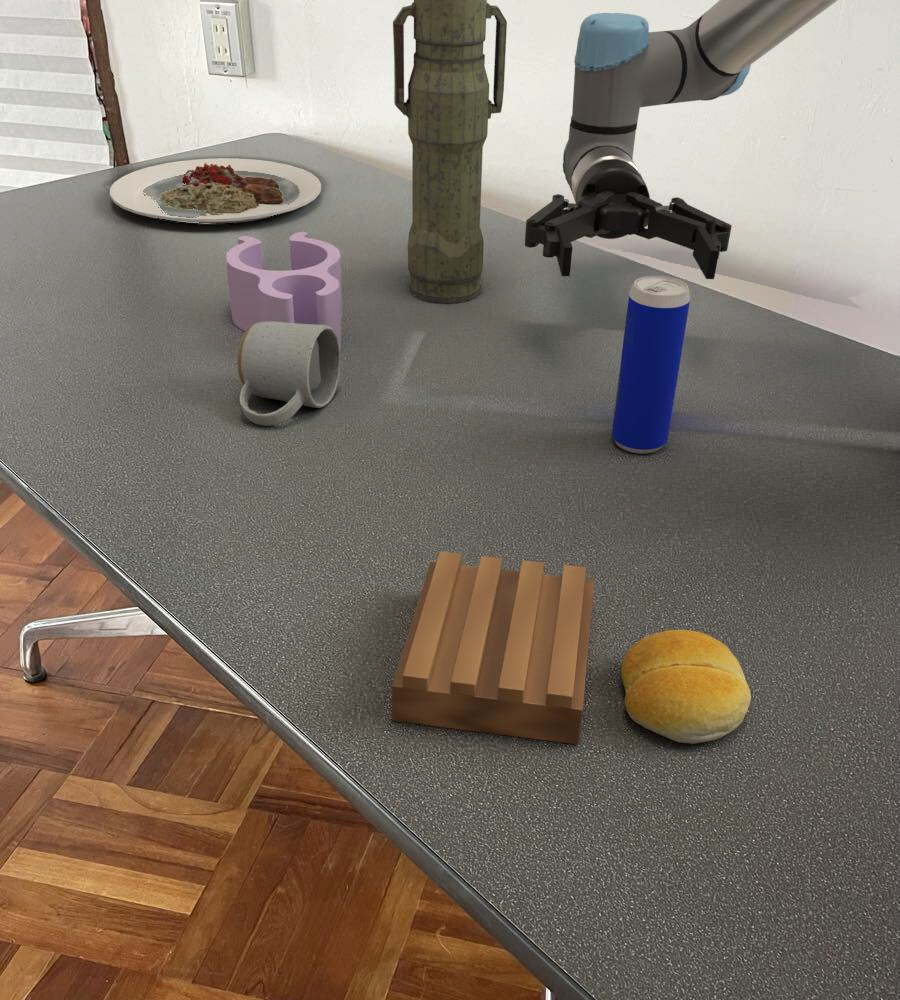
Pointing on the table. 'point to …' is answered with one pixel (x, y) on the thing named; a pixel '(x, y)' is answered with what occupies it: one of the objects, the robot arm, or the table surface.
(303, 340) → the ceramic mug
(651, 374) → the beverage can
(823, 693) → the table surface
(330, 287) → the clip
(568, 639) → the rack
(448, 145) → the olive green vase
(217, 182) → the plated food
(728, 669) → the bread roll
